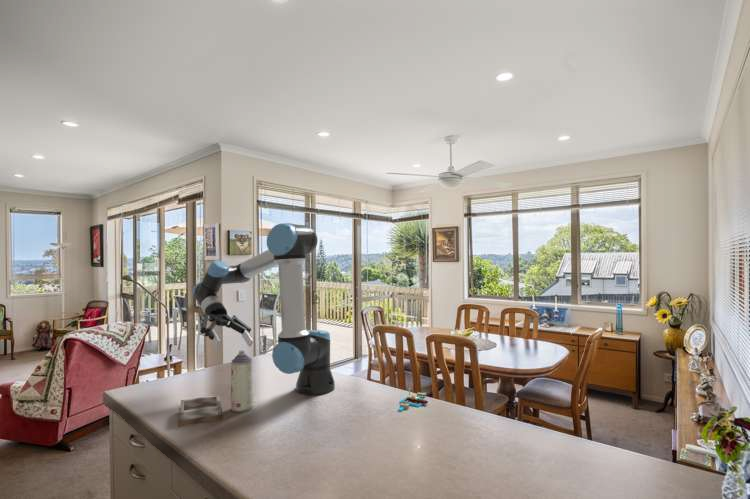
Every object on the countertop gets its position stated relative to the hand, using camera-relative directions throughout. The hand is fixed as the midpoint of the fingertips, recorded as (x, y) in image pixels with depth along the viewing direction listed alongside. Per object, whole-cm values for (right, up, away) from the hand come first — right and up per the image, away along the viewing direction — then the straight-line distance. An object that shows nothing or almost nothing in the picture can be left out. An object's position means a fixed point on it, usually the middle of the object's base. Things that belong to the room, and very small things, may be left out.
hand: (235, 344), depth 147 cm
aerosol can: (+5, -21, -8) cm, 23 cm away
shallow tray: (-7, -20, -14) cm, 26 cm away
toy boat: (+65, -21, -3) cm, 69 cm away
